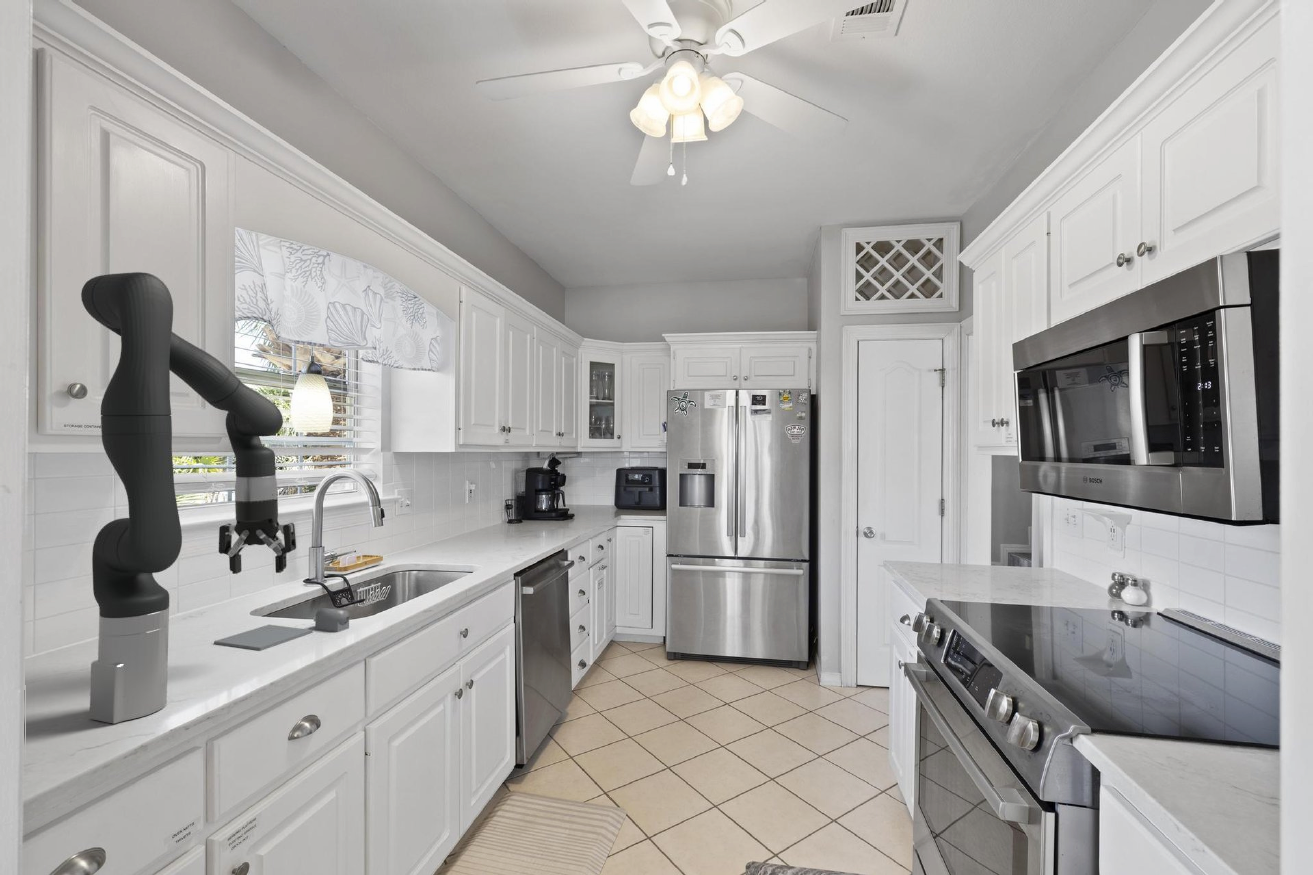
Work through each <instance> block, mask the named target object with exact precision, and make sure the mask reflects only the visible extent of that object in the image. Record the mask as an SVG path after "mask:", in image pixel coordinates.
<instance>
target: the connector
mask: <svg viewBox="0 0 1313 875" xmlns="http://www.w3.org/2000/svg"><path fill="white" fill-rule="evenodd" d="M313 622H314V623H315V624H314V625H315V626H314V627H315V628H314V630H316V631H323V632H331V633H339V632H342V631H346V630H349V629H350V613H349V611H348V610H345V609H344V610H343V609H338V608H337V609H335V608H327V607H321V608H319V609H318V610H317V611H316V613H315V616H314V617H313Z"/></svg>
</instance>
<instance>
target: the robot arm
mask: <svg viewBox="0 0 1313 875" xmlns="http://www.w3.org/2000/svg"><path fill="white" fill-rule="evenodd" d="M80 297H81V302H82V305H83V307H84V308H85V310H86V312H87V313H88V315H90V316H91V317H92V318H93V319H94V320H95V321H97V322H98V323H99V324H100V325H102V326H103V327H105V328H107V329H108V330H110V331H111V332H113V333H115V334H116V335H118V336H119V337H120V343H121V347H120V356H119V361H118V364H117V366H116V368H115V371H114V373H113V374H112V376H111V379H110V380H109V383H108V385H107V387H106V390H105V392H104V394H103V397H102V400H101V404H100V426H101V428H100V430H101V442H102V446H103V449H104V452H105V454H106V456H107V457H108V460H109V461H110V463H111V465H112V467H113V468H114V470H115V472H116V474H117V475H118V477H119V479H120V480H121V482H122V484H123V486H124V490H125V492H126V496H127V503H128V504H127V505H128V517H122V518H121V517H120V518H117V519H114V520H112V521H109V522H108V523H106V524H105V525H104V526H103V527H101V529H100V530H99V531H98V533H97V535H96V537H95V539H94V542H93V546H92V552H91V553H92V556H91V560H92V561H91V563H92V569H91V570H92V590H93V591H92V592H93V597H94V600H95V601H96V603H97V605H98V609H99V610H98V613H99V614H98V616H99V617H98V641H97V642H98V645H97V646H98V649H97V651H98V652H97V659H96V660H93V661H92V662H91V664H90V685H89V687H90V691H89V696H90V697H89V720H94V721H100V722H104V723H109V724H118V723H121V722H124V721H129V720H133V719H137V718H142V717H145V716H148V715H151V714H153V713H156V712H157V711H160V710H161V709H163V708H164V707H165V706H166V705H167V702H168V700H167V698H168V664H169V663H168V662H169V659H168V658H169V629H170V628H169V624H170V623H169V622H170V592H169V591H168V590H167V589H166V588H165V587H163V586H161V585H160V584H159V583H158V582H157V581H156V579H155V577H154V574H157V573H160V572H163V571H166V570H168V569H169V568H171V566H172V565H173V564H175V562H176V561H177V559H178V558H179V556H180V553H181V549H182V546H183V545H182V544H183V533H182V527H181V521H180V514H179V508H178V502H177V498H176V489H175V479H174V474H175V473H174V460H173V441H172V440H173V427H172V426H173V424H172V422H173V421H172V408H171V387H170V386H171V382H170V377H171V376H170V373H171V372H172V373H173V374H174V375H175V376H177V377H178V378H179V379H181V380H182V381H183V382H184V383H185V384H186V385H188V387H190V388H191V389H192V390H193V391H194V392H196V393H197V394H198V396H200V397H201V398H202V399H203V400H205V401H206V403H207V404H210V406H212V407H213V408H215V409H218V410H220V411H225V412H227V413H226V417H225V429H226V432H227V435H228V440H229V442H230V445H231V449H232V451H233V453H234V456H235V485H234V500H235V501H234V504H235V505H234V506H235V508H234V509H235V511H234V512H235V519H236V520H235V521H236V524H234V525H233V524H232V523H225V524H223V525H220V526H219V530H218V553H219V554H221V555H222V554H223V555H226V556H228V558H229V559H228V560H229V571H230V572H232V574H233V575H234V574H235V575H237V574H239V573H242V554H241V552H242V551H243V549H244V548H245V547H247V546H253V545H258V546H264V545H266V547H268V548H269V549H271V550H272V551H273V553H274V554H275V556H274V559H275V561H274V562H275V567H274V568H275V573H276V574H281V573H283V572H284V570H285V569H287V555H288V553H291V552H293V551H295V550H296V549H297V540H296V539H297V538H296V529H295V524H294V522H288V523H286V524H280V523H279V520H278V519H279V508H278V507H279V506H278V505H279V503H278V502H279V501H278V498H279V496H278V495H279V491H278V482H277V474H276V470H277V469H276V468H277V467H276V453H275V452H274V450H273V449H271V448H269V447H267V446H264V445H263V443H262V441H261V438H260V437H269V436H270V437H271V436H274V435H276V434H278V432H280V431H281V429H282V428H283V424H284V418H283V414H282V412H281V411H280V408H278V406H277V405H276V404H274V403H273V402H272V400H270V399H268V398H267V397H265V396H264V395H262V394H261V393H259V392H257V391H256V390H254V389H253V388H251V387H249V386H248V385H246V384H245V383H244V382H242V381H241V380H240V378H238V377H237V376H236V375H235V374H234V373H233V371H231V370H230V369H229V368H228V367H227V365H225V364H224V363H223V362H221V361H220V360H218V359H217V358H216V357H214V356H213V355H212V354H210V353H208V352H207V351H205V350H204V349H202V348H200V347H198V346H196V345H194V344H193V343H190V342H189V341H187V340H186V339H184V338H183V337H180V336H179V335H178V334H176V333H175V332H174V331H173V330H172V329H173V321H174V304H173V303H174V302H173V299H172V295H171V292H170V290H169V288H168V287H167V285H166V284H165V282H164V281H163V280H161V279H160V278H159V277H157V276H156V275H154V274H151V273H148V272H141V271H140V272H139V271H134V272H124V273H123V272H122V273H121V272H120V273H108V274H101V275H97V276H94V277H92V278H90V279H89V280H87V281H86V282H85V284H83V286H82V288H81V293H80ZM279 531H280V533H281V534H282V535H283V541H282V539H281V538H280V537H279V535H277V533H278V532H279ZM234 533H235V534H236V535H237V536H238V538H237V540H236V541H235V542H234V543H232V540H233V539H232V537H233V534H234ZM283 542H284V543H283ZM232 545H233V546H232Z"/></svg>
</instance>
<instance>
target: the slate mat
mask: <svg viewBox="0 0 1313 875" xmlns="http://www.w3.org/2000/svg"><path fill="white" fill-rule="evenodd" d="M313 632H314V630H313V629H309V628H307V629H306V628H299V627H292V626H291V627H290V626H284V625H276V624H267V625H263V626H259V627H256V628H252V629H249V630H247V631H243V632H241V633H237V634H233V635H231V636H227V637H224V638H220V639H217V640H214V641H213V644H214V645H220V646H225V647H226V646H228V647H233V648H241V649H247V650H248V649H249V650H254V651H262V650H266V649H269V648H271V647H275V646H277V645H280V644H283V643H286V642H289V641H292V640H294V639H295V640H296V639H298V638H301V637H304V636H306V635H309V634H312V633H313Z"/></svg>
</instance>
